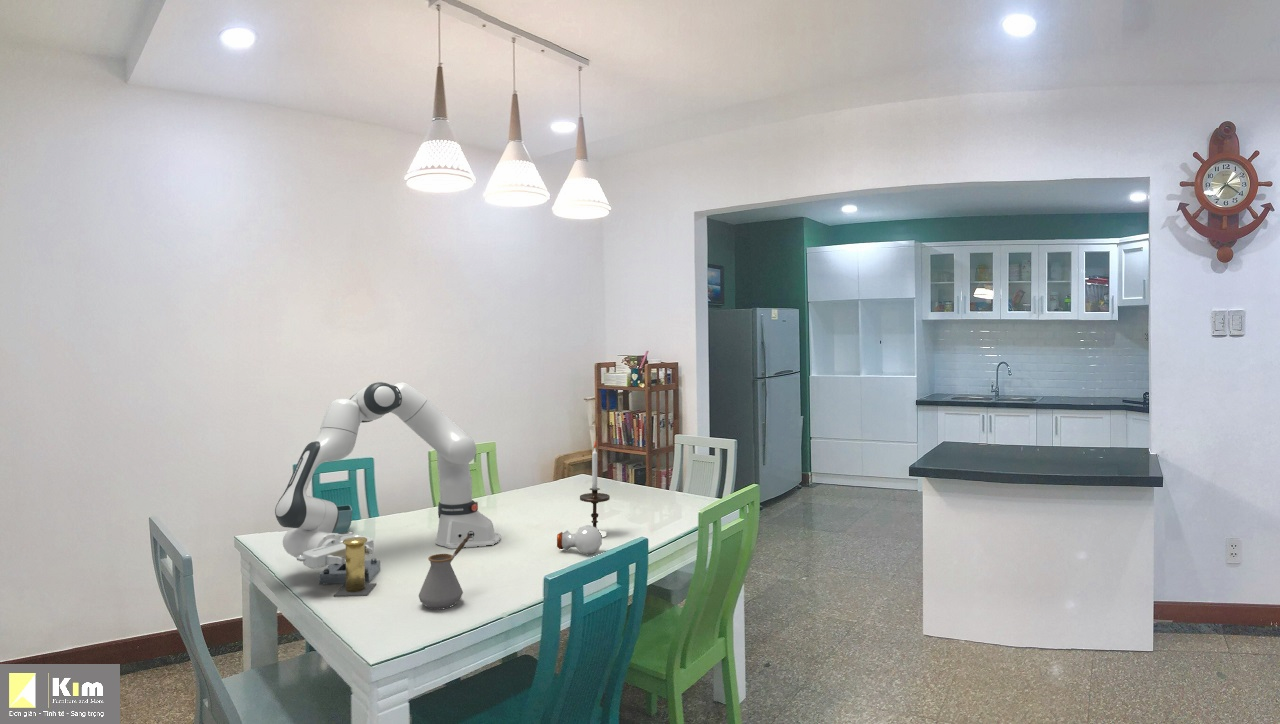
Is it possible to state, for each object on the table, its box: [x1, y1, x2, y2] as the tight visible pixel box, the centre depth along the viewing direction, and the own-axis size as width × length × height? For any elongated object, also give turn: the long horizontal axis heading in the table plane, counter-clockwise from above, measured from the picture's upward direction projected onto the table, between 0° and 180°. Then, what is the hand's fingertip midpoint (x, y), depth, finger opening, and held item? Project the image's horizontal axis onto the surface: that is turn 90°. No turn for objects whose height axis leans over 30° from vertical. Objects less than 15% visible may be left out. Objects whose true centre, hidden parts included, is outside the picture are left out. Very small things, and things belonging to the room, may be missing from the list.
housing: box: [318, 558, 381, 585], centre depth 213 cm, size 14×12×4 cm
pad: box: [333, 582, 377, 598], centre depth 202 cm, size 9×9×1 cm
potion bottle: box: [556, 524, 603, 556], centre depth 239 cm, size 9×10×15 cm
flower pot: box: [333, 504, 353, 533], centre depth 262 cm, size 9×9×9 cm
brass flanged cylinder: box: [343, 537, 367, 592], centre depth 202 cm, size 6×6×14 cm
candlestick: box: [579, 439, 611, 529], centre depth 259 cm, size 11×11×35 cm
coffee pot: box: [418, 535, 474, 610], centre depth 196 cm, size 21×12×15 cm, turn 163°
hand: (357, 556), depth 201 cm, fingers open, 8 cm apart
